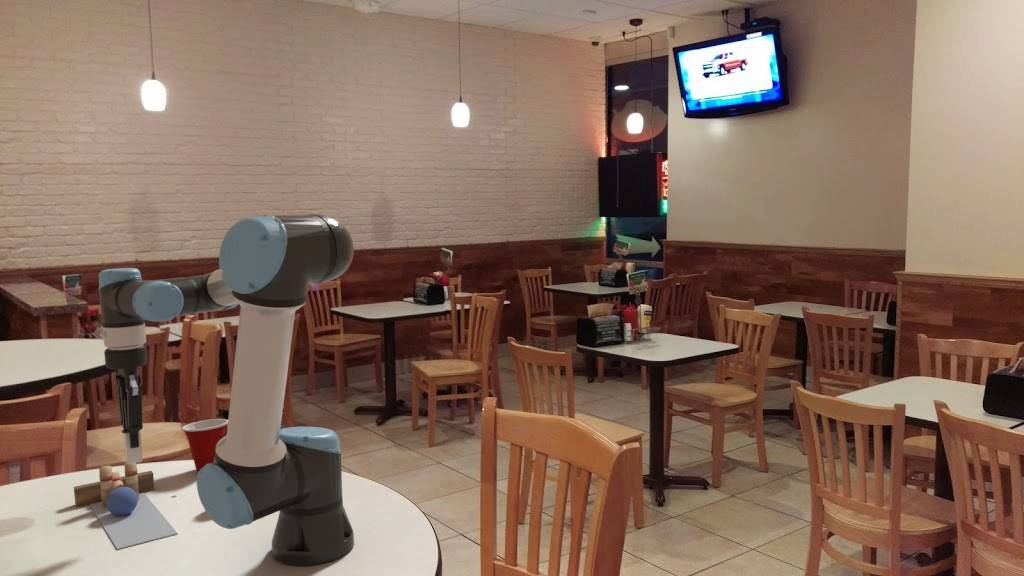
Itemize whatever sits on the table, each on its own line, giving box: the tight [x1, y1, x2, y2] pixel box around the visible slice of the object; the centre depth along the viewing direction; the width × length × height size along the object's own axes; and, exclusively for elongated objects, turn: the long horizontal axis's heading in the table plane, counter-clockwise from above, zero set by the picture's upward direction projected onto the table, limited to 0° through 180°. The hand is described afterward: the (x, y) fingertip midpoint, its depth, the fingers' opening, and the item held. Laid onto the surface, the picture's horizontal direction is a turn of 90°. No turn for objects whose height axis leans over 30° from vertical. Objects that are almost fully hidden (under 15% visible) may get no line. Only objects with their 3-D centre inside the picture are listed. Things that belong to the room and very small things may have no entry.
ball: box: [106, 487, 138, 516], centre depth 167 cm, size 6×6×6 cm
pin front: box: [112, 471, 124, 490], centre depth 173 cm, size 2×2×9 cm
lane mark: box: [89, 492, 178, 551], centre depth 165 cm, size 29×11×1 cm, turn 37°
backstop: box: [73, 470, 155, 507], centre depth 178 cm, size 2×16×4 cm, turn 127°
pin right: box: [123, 461, 139, 500], centre depth 174 cm, size 2×2×9 cm
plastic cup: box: [181, 418, 228, 474], centre depth 194 cm, size 11×11×12 cm
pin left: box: [98, 465, 113, 508], centre depth 171 cm, size 2×2×9 cm
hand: (134, 461), depth 157 cm, fingers closed
